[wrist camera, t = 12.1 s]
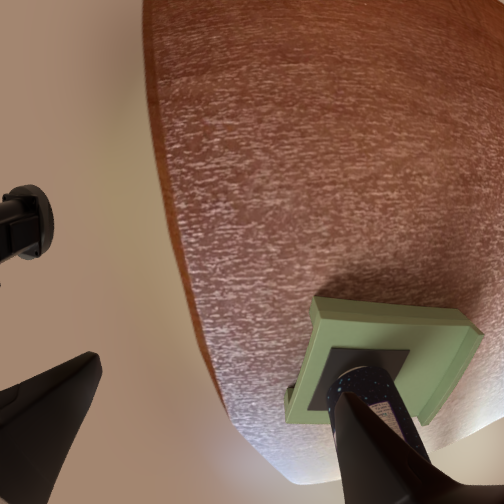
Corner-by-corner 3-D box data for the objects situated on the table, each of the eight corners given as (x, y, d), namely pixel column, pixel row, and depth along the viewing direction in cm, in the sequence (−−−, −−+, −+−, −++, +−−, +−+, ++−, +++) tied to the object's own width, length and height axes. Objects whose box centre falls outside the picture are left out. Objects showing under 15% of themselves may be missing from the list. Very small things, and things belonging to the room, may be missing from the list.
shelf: (283, 398, 25) (286, 436, 21) (313, 295, 22) (325, 331, 17) (412, 395, 26) (428, 425, 21) (457, 308, 22) (484, 334, 17)
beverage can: (319, 409, 21) (339, 529, 10) (328, 362, 19) (365, 504, 8) (378, 401, 21) (416, 508, 10) (394, 355, 19) (456, 473, 8)
